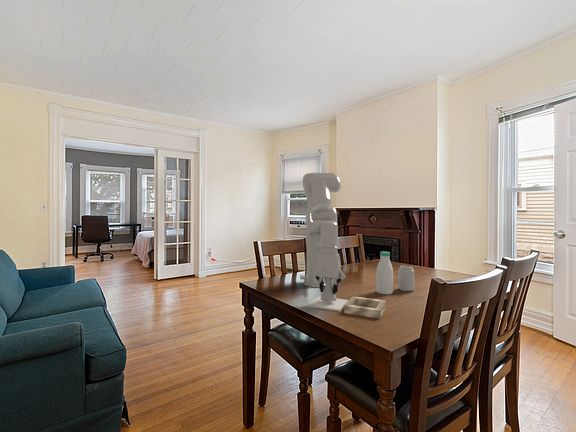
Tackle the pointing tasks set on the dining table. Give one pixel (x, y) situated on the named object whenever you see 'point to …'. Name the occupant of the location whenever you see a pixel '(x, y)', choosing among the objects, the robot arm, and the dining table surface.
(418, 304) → the dining table surface
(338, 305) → the plate
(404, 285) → the can
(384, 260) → the milk bottle
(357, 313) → the holder
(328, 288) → the flask
